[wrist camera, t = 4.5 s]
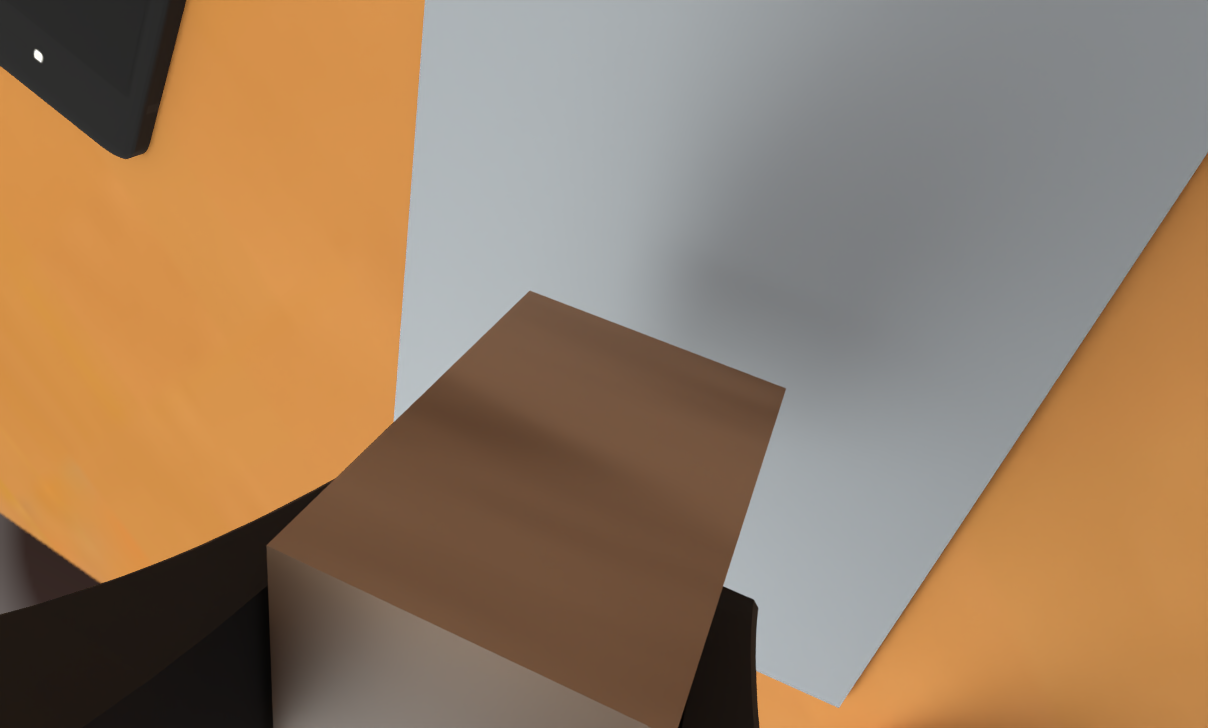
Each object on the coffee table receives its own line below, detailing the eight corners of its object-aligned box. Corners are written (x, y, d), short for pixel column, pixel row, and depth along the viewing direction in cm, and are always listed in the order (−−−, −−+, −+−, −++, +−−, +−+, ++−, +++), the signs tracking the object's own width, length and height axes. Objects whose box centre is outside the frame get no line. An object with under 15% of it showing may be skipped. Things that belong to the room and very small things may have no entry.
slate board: (840, 695, 22) (838, 708, 22) (394, 496, 25) (387, 504, 24) (1292, 6, 12) (1302, 9, 12) (452, -217, 14) (441, -219, 14)
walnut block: (706, 575, 15) (581, 935, 10) (494, 483, 16) (275, 772, 11) (786, 388, 13) (673, 737, 8) (530, 290, 14) (267, 544, 8)
